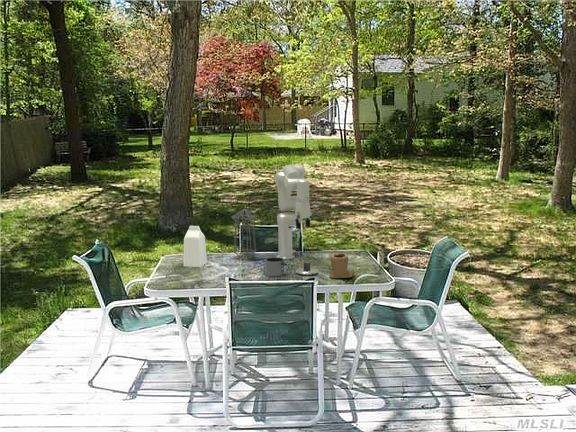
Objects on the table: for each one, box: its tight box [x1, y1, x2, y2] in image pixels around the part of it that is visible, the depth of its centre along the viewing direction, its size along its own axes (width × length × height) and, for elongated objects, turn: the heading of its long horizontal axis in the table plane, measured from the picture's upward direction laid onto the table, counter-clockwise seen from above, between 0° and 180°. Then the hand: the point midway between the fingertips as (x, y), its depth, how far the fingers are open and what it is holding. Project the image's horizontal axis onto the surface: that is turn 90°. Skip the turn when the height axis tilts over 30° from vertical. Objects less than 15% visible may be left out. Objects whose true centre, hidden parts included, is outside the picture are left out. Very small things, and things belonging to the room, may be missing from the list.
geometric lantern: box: [231, 208, 259, 261], centre depth 383 cm, size 16×16×35 cm
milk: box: [182, 225, 208, 268], centre depth 366 cm, size 12×12×26 cm
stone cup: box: [328, 252, 354, 279], centre depth 332 cm, size 15×12×15 cm
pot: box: [262, 256, 288, 277], centre depth 342 cm, size 12×17×9 cm
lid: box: [295, 261, 319, 276], centre depth 343 cm, size 14×14×7 cm
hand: (303, 227), depth 340 cm, fingers open, 9 cm apart
